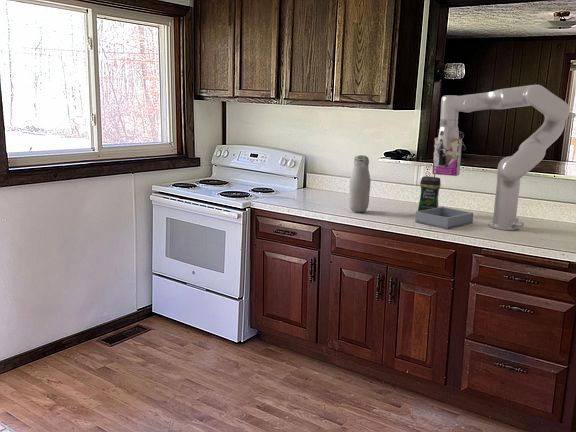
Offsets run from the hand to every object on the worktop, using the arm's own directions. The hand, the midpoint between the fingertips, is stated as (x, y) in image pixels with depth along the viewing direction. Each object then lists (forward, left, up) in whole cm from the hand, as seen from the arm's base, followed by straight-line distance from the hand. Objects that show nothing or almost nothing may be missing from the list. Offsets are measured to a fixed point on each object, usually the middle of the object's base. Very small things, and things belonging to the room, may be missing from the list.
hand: (446, 164), depth 248 cm
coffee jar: (+15, -10, -27) cm, 33 cm away
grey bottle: (+38, +15, -27) cm, 49 cm away
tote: (-1, 0, -27) cm, 27 cm away
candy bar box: (0, 0, -5) cm, 5 cm away
